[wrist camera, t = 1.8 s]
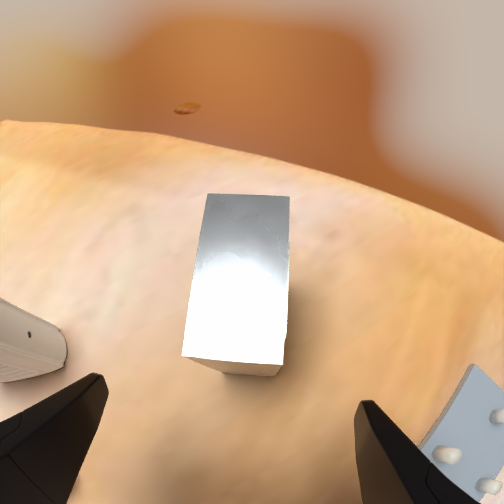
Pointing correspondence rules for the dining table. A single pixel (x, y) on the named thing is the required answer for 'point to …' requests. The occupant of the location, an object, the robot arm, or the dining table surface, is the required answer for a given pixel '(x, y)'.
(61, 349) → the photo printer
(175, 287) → the dining table surface
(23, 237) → the dining table surface
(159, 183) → the dining table surface
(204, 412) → the dining table surface
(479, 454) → the grey peg board
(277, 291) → the block
